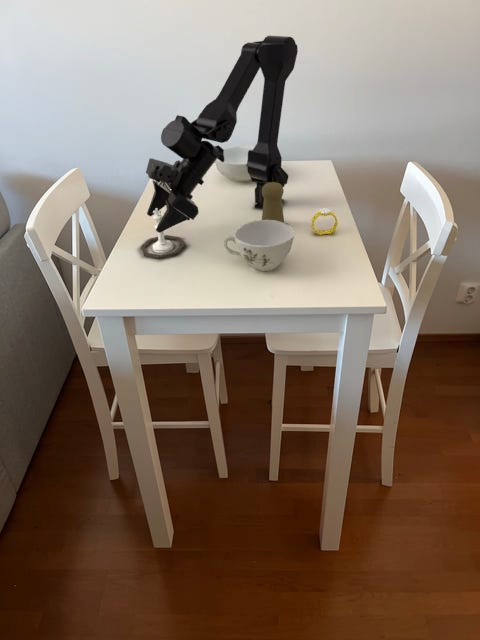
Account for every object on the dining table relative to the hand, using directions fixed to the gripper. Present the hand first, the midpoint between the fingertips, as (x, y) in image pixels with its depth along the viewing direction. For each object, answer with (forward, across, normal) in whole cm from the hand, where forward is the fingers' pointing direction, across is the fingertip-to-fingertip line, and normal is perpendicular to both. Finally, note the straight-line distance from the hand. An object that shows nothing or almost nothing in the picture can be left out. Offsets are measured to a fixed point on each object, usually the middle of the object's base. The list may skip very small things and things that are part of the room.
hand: (152, 223), depth 106 cm
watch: (-22, +10, +32) cm, 41 cm away
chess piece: (+4, 0, +6) cm, 7 cm away
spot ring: (+4, 0, +6) cm, 7 cm away
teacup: (-9, +17, +18) cm, 26 cm away
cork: (-16, +2, +26) cm, 30 cm away
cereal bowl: (-20, -33, +30) cm, 48 cm away
